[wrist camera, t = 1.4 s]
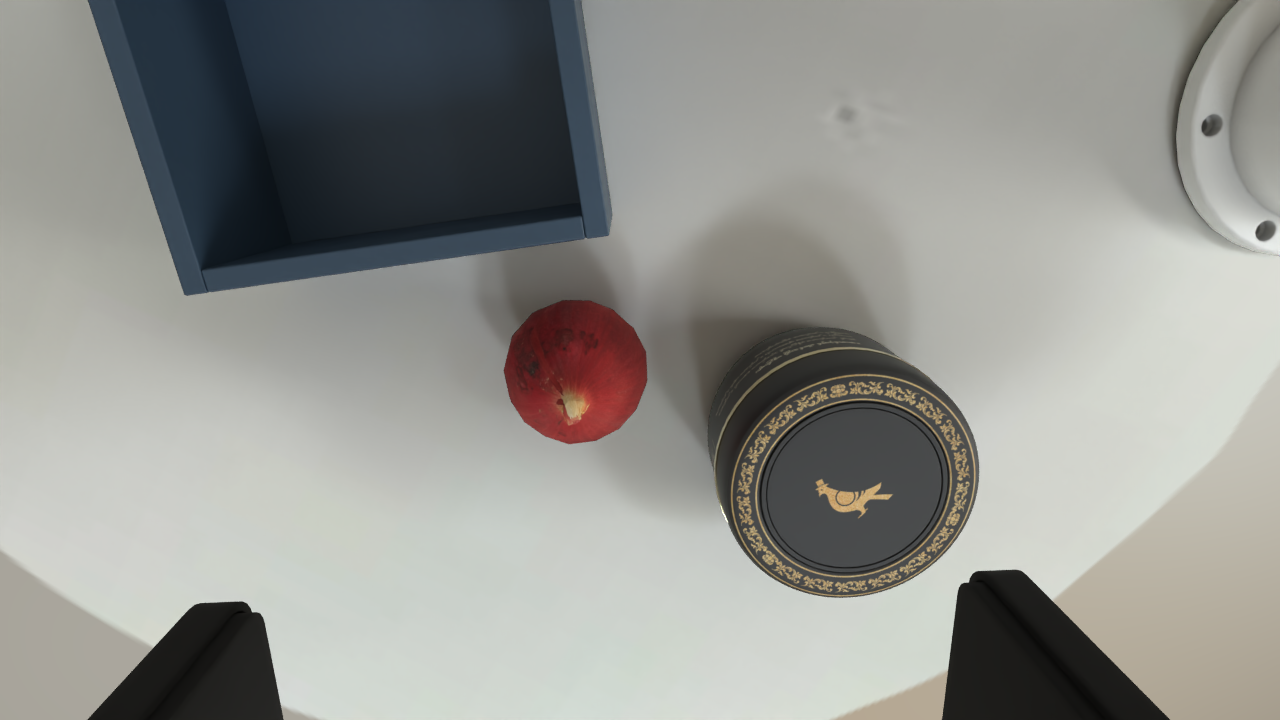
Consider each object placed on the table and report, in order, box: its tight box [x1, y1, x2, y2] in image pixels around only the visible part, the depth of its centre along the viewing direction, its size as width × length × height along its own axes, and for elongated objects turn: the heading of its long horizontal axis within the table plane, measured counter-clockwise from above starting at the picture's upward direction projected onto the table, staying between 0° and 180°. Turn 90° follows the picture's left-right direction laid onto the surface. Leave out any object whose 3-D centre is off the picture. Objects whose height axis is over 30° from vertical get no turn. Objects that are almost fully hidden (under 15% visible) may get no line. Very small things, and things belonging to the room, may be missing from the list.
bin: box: [88, 0, 612, 296], centre depth 26 cm, size 15×15×8 cm
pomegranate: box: [504, 300, 647, 444], centre depth 29 cm, size 6×6×8 cm
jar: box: [708, 327, 979, 598], centre depth 30 cm, size 10×10×8 cm
